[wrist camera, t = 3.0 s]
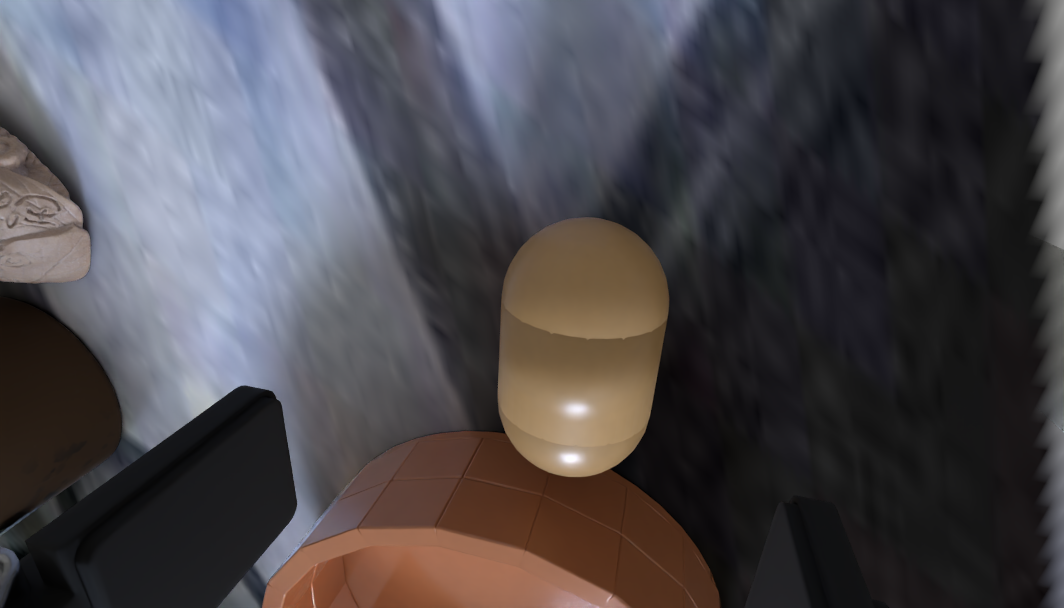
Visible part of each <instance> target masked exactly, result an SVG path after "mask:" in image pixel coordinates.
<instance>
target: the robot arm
mask: <svg viewBox="0 0 1064 608" xmlns="http://www.w3.org/2000/svg"><path fill="white" fill-rule="evenodd" d="M296 507H297V499H296V492H295V486H294V480H293V474H292V467H291V461H290V455H289V448H288V442H287V436H286V430H285V423H284V417H283V411H282V405H281V403H280V401H279V400H277V399H276V396H275V394H274V393H273V392H272V391H269V390H265V389H260V388H255V387H250V386H240V387H238V388H236V389H234V390H233V391H232V392H230V393H229V394H227V395H226V396H225V397H223V398H222V399H221V400H219V401H218V402H216V403H215V404H214V405H212V406H211V407H209V408H208V409H207V410H205V411H204V412H203V413H201V414H200V415H198V416H197V417H196V418H194V419H193V420H192V421H190V422H189V423H187V424H186V425H185V426H183V427H182V428H180V429H179V430H178V431H176V432H175V433H174V434H172V435H171V436H169V437H168V438H167V439H165V440H164V441H162V442H161V443H160V444H158V445H157V446H156V447H154V448H153V449H151V450H150V451H149V452H147V453H146V454H144V455H143V456H142V457H140V458H139V459H138V460H136V461H135V462H133V463H132V464H131V465H129V466H128V467H126V468H125V469H124V470H122V471H121V472H120V473H118V474H117V475H115V476H114V477H113V478H111V479H110V480H109V481H107V482H106V483H104V484H103V485H102V486H100V487H99V488H97V489H96V490H95V491H93V492H92V493H91V494H89V495H88V496H86V497H85V498H84V499H82V500H81V501H79V502H78V503H77V504H75V505H74V506H73V507H71V508H70V509H68V510H67V511H66V512H64V513H63V514H61V515H60V516H59V517H57V518H56V519H55V520H53V521H52V522H50V523H49V524H48V525H46V526H45V527H43V528H42V529H41V530H39V531H38V532H37V533H35V534H34V535H32V536H31V537H30V538H28V539H27V540H26V541H25V542H26V545H27V547H28V549H29V551H30V553H29V554H28V555H26V556H25V557H24V558H22V559H21V560H20V561H19V560H18V558H17V557H16V555H15V553H14V552H13V551H11V550H8V549H6V548H4V547H0V608H217V607H218V606H219V605H220V603H221V602H222V601H223V600H224V599H225V598H226V596H227V595H228V594H229V593H230V592H231V591H232V589H233V588H234V587H235V586H236V585H237V583H238V582H239V581H240V580H241V579H242V578H243V576H244V575H245V574H246V573H247V572H248V570H249V569H250V568H251V567H252V566H253V565H254V563H255V562H256V561H257V560H258V559H259V558H260V556H261V555H262V554H263V553H264V552H265V550H266V549H267V548H268V547H269V546H270V545H271V543H272V542H273V541H274V540H275V539H276V538H277V536H278V535H279V534H280V533H281V532H282V530H283V529H284V528H285V527H286V526H287V525H288V523H289V522H290V521H291V519H292V518H293V516H294V514H295V511H296ZM745 608H889V607H888V606H887V605H886V604H885V603H884V602H881V601H877V600H873V599H871V597H870V594H869V592H868V589H867V587H866V584H865V581H864V579H863V576H862V574H861V571H860V568H859V566H858V563H857V561H856V558H855V555H854V553H853V550H852V548H851V545H850V542H849V540H848V537H847V535H846V532H845V530H844V527H843V524H842V522H841V519H840V517H839V514H838V511H837V509H836V507H835V505H834V504H832V503H831V502H826V501H821V500H816V499H811V498H806V497H801V496H793V497H792V498H791V500H790V503H785V502H780V503H779V504H778V506H777V509H776V512H775V515H774V518H773V521H772V524H771V527H770V530H769V533H768V537H767V540H766V543H765V546H764V549H763V552H762V555H761V558H760V561H759V564H758V568H757V571H756V574H755V577H754V580H753V583H752V586H751V589H750V592H749V595H748V598H747V602H746V605H745Z"/></svg>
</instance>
